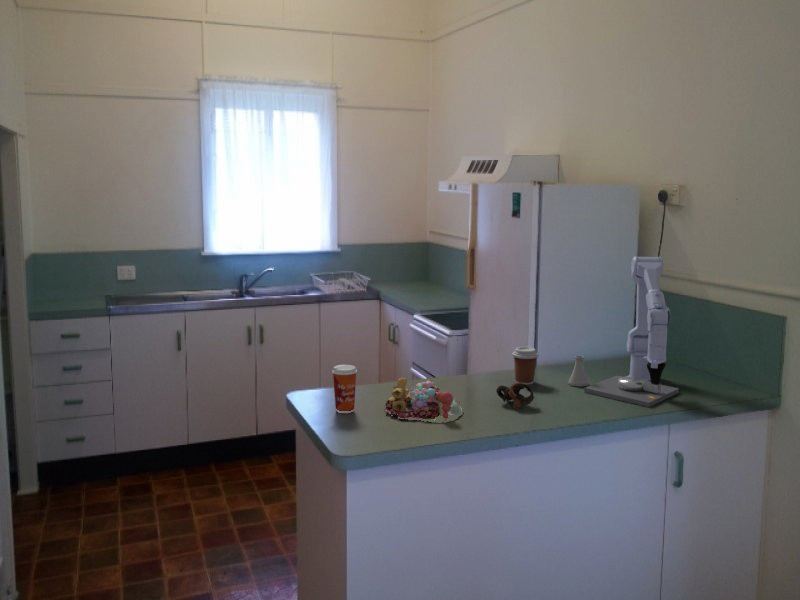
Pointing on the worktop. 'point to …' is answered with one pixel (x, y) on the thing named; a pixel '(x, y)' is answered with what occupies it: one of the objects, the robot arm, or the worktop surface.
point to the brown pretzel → (515, 394)
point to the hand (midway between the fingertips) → (655, 385)
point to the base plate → (630, 392)
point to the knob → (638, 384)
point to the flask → (578, 373)
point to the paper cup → (344, 386)
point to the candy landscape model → (421, 402)
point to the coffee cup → (525, 364)
